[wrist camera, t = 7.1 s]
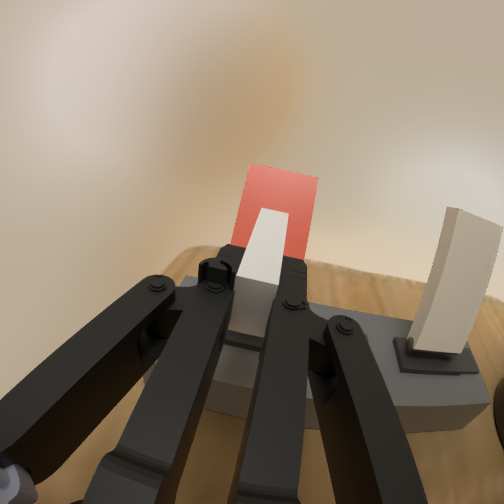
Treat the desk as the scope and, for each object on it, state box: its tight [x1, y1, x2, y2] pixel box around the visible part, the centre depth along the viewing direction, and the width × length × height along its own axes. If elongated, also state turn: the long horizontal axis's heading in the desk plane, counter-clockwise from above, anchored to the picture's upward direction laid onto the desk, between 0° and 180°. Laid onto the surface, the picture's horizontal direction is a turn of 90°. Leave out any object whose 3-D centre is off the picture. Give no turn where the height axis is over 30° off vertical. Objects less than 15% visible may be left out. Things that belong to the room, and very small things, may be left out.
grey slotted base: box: [143, 275, 491, 433], centre depth 20 cm, size 26×9×4 cm, turn 81°
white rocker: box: [406, 207, 503, 355], centre depth 17 cm, size 5×2×10 cm, turn 81°
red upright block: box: [231, 164, 318, 261], centre depth 20 cm, size 5×2×10 cm
